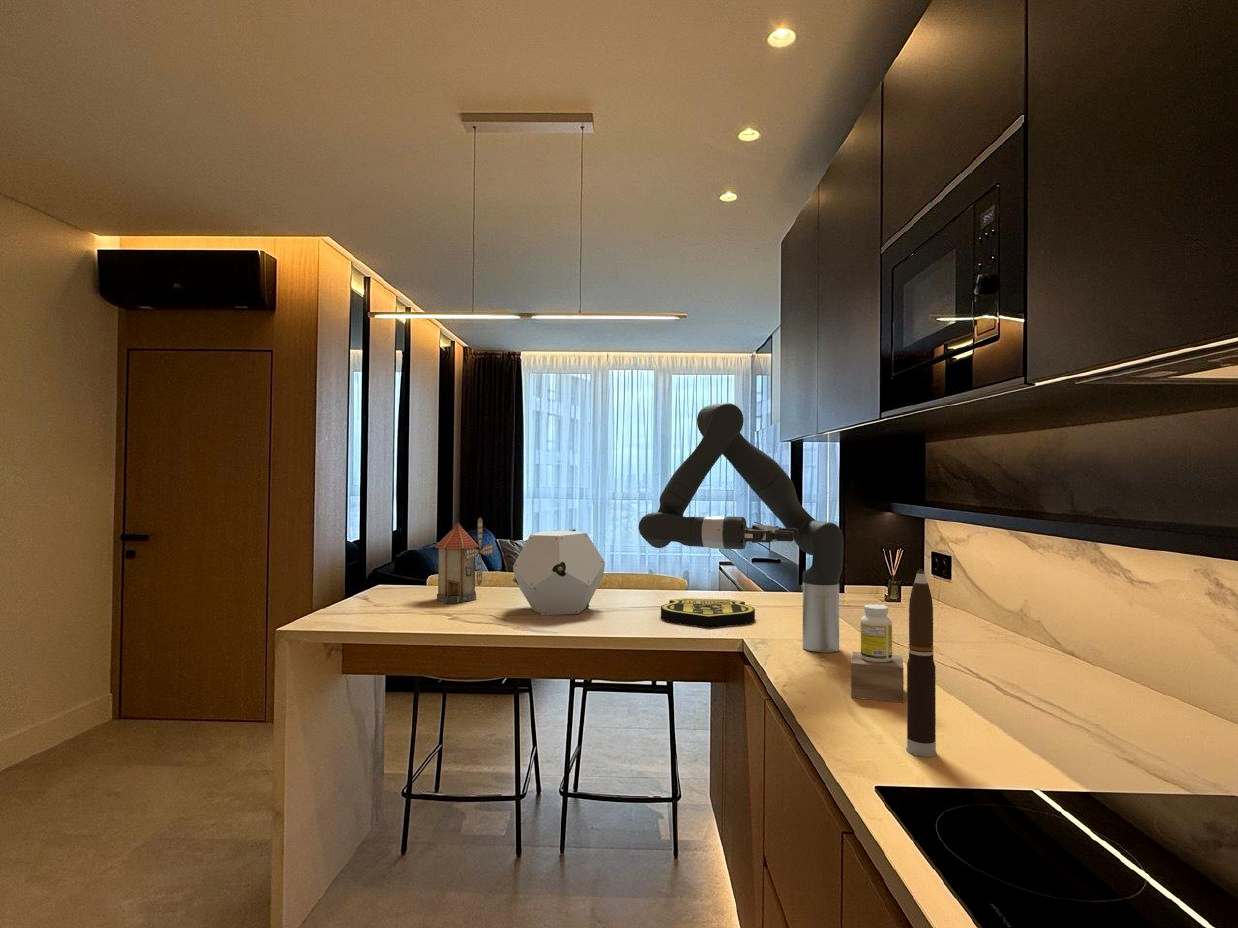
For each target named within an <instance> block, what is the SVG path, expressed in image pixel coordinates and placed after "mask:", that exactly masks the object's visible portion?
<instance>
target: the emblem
mask: <svg viewBox="0 0 1238 928" xmlns="http://www.w3.org/2000/svg"><path fill="white" fill-rule="evenodd" d="M668 602H669V603H665V604H662V605H661V606H660V619H661V620H662V621H664V622H667V623H673V624H679V625H686V626H691V627H692V626H693V627H699V628H706V629H711V628H723V627H731V626H734V627H735V626H742V625H748V624H752V623H755V621H756V609H755V607H752V606H750V605H747V604H746V602H745V601H742V600H735V599H729V598H728V599H726V598H725V599H724V598H723V599H721V598H676V599H670V600H669V601H668Z"/></svg>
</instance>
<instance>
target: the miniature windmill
mask: <svg viewBox="0 0 1238 928" xmlns="http://www.w3.org/2000/svg"><path fill="white" fill-rule="evenodd" d="M483 527H484V523H483V519H482V517H481V516H479V518H478V519H477V542H475V540H474V539H473V538H472V537H471V536H470V534H468V532H466V530H465V529H464V528H463V526H462V525H461V524H460V522H457V523H455V525H454V527H453V528H452V529H451V530H450V531H449V532H448V533H446V535H445V536H444V537H443V538H442V539H441V540H440V541H438V543H437V544H436V545H435V546H434V547H435V548H437V549H438V563H437V565H438V567H437V568H438V574H437V577H438V579H437V580H438V583H437V584H438V585H437V587H438V588H437V590H438V593H437V594H436V600H437V601H438V602H442V603H445V605H447V604H448V605H449V604H451V605H452V604H453V605H458V604H459V603H463V602H469V601H475V600H477V592H476V584H477V585H478V586H479V587H481V584H482V582H483V562H482V555H483V556H490V555H493V554H494V550H495V547H494V543H492V542H491V543H488V544H486V545H484V546H483V547H482V545H483V544H482V543H483V534H484V532H483V531H484V530H483V529H484V528H483ZM476 557H478V558H477V566H476ZM476 567H477V569H476Z"/></svg>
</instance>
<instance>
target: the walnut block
mask: <svg viewBox="0 0 1238 928" xmlns="http://www.w3.org/2000/svg"><path fill="white" fill-rule="evenodd" d="M851 653H852V654H851V659H850V698H854V699H862V700H874V701H881V702H890V703H900V704H901V703H902V704H904V695H905V693H904V690H905V689H904V687H905V686H904V675H905V674H904V668H905V667H904V662H903V656H902V655H896V654H892V660H891V661H890V662H884V663H877V662H870V661H866V660H864V659H863V658H862V657H861V651H852V652H851Z"/></svg>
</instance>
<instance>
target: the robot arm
mask: <svg viewBox="0 0 1238 928" xmlns="http://www.w3.org/2000/svg"><path fill="white" fill-rule="evenodd" d="M744 422H745V421H744V414H743V412H742V410H741V409H740V407H739V406H738V405H735V404H733V403H730V402H721V403H715V404H714V403H713V404H709V405H706V406H704V407H703V408H701V409H700V410H699V412H698V414H697V417H696V425H697V429H698V430H699V432H700V434H701V435H702V439H701V440H700V442H699V443H698V445H697V446H696V447H695V449H694V451H692V453H690V455H689V456H688V457H687V458H686V459H685V460H684V461H683V462H682V464H681V465H679V467H678V468H677V469H676V470H675V471H674V473H673V474H672V475H671V477H670V479H669V480H668V482H667V484H666V486H665V487H664V489H663V490H662V492H661V494H660V496H659V508H658V510H657V511H655V512H650V513H647V514H645V515H644V516H642V517H641V518H640V520H639V522H638V532H639V534H640V536H641V537H642V538H643V540H644V541H646V543H648V544H649V546H651V547H653V548H655V549H663V548H665V547H667V546H668V545H670V543H671V542H674V543H678V544H681V545H682V546H685V547H696V548H709V549H719V550H720V549H721V550H722V549H723V550H740V551H741V550H744V549H745V548H746V545H747V543H748V542H751V543H752V544H753V543H754V544H759V543H762V544H765V543H766V544H769V543H774V542H793V541H794V542H795V543H796V545H797V546H798V547H799V549H800V550H801V551H802V552H804V553H805V554H807V555H809V556H812V560H811V566H810V567H809V568H807V569H805V570H804V571H803V572H802V648H803V650H806V651H810V652H814V653H835V652H836V653H837V652H838V651H840V577H841V574H842V572H843V566H844V565H843V564H844V546H845V545H844V544H845V543H844V535H843V532H842V529H841V528H840V526H838V525H837V524H836V523H834V522H831V521H823V520H822V521H820V520H817V519H815V518H814V517H812V516H811V514H809V512H808V511H806V509H805V508H804V507H803V506H802V504H801V502H800V501H799V498H798V495H797V490H796V488H795V485H794V482H793V481H792V479H791V478H790V476H789V475H788V474H787V473H786V472H785V470H784V468H783V467H781V466H780V464H779V463H778V462H777V461H776V460H775V459H773V458H772V457H771V456H770V455H768V454H767V453H765V452H764V451H763V450H761V449H759V448H758V447H756V446H755V445H753V443H751V442H750V441H749V440H747V439H746V438H745V436H743V435H742V433H741V431H742V430H743V426H744ZM722 455H723V457H724V458H725V459H726V460H727V461H728V462H729V463H730V465H731V466H732V467H733V468H734V469H735V470H736V472H737V473H738V474H739V476H741V478H742V479H743V480H744V482H746V484H747V485H748V486H749V487H750V489H751V490H752V491H753V492H754V493H755V494H756V496H757V497H758V498H759V499H760V500H761V501H762V502H763V503H764V504H765V505H766V507H767V508H768V509H769V510H770V511H771V512H772V514H773V515H774V516H775V517H776V518H777V519H778V520H779V522H780V523H782V525H783V526H784V527H780V526H778V525H776V526H773V525H770V524H769V525H768V524H767V525H764V524H763V525H762V524H757V523H755V524H753V525H751V527H748V526H747V520H746V518H745V517H744V516H725V515H724V516H723V515H722V516H721V515H716V516H715V515H713V516H684V514H685V512H686V509H687V508H688V507H689V505H690V504H691V501H692V500H693V498H694V496H696V493H697V491H698V490H699V488H700V486H701V485H702V483H703V481H704V480H705V478H706V477H707V475H708V474H709V472H710V471H711V470H712V469H713V467H714V465H715V464H716V463H717V462H718V460H719V459H720V457H721V456H722Z"/></svg>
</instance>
